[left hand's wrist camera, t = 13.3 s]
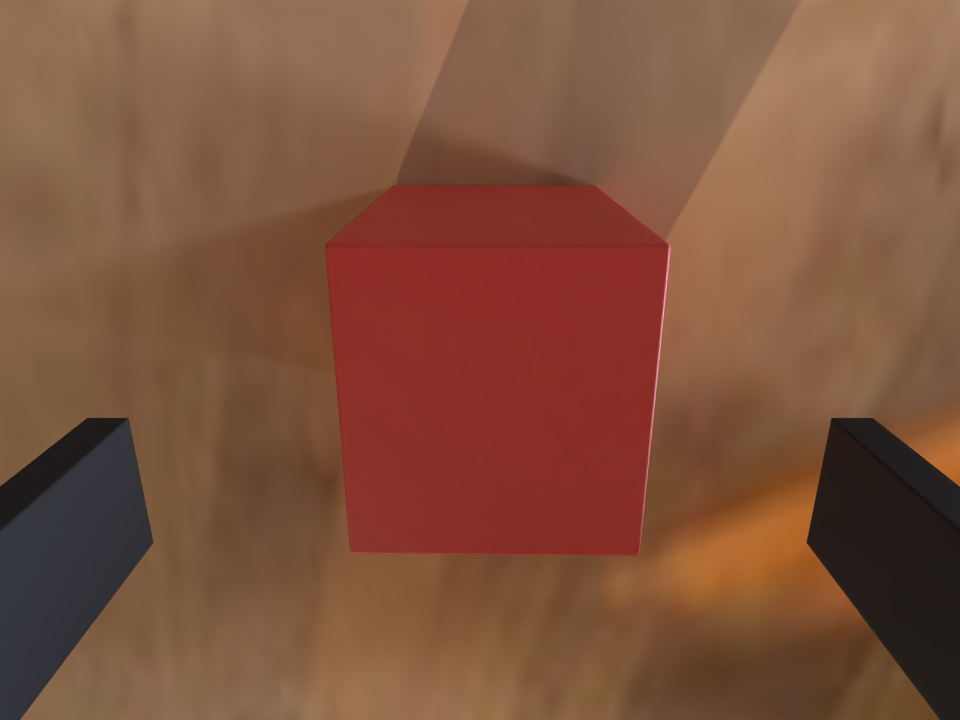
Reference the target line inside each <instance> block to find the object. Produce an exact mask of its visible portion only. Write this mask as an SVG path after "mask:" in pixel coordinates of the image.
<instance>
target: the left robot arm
mask: <svg viewBox="0 0 960 720" xmlns="http://www.w3.org/2000/svg"><path fill="white" fill-rule="evenodd" d="M152 544H153V539H152V534H151V529H150V524H149V519H148V514H147V509H146V504H145V499H144V494H143V489H142V484H141V479H140V474H139V469H138V464H137V459H136V454H135V449H134V444H133V439H132V434H131V429H130V424H129V419H128V418H87V419H86V420H84V421H83V422H82V423H80V424H79V425H78V426H77V427H75V428H74V429H73V430H72V431H70V432H69V433H68V434H67V435H65V436H64V437H63V438H61V439H60V440H59V441H58V442H56V443H55V444H54V445H53V446H51V447H50V448H49V449H47V450H46V451H45V452H44V453H42V454H41V455H40V456H39V457H37V458H36V459H35V460H34V461H32V462H31V463H30V464H28V465H27V466H26V467H25V468H23V469H22V470H21V471H20V472H18V473H17V474H16V475H15V476H13V477H12V478H11V479H9V480H8V481H7V482H6V483H4V484H3V485H2V486H1V487H0V720H20V719H21V718H22V716H23V715H24V714H25V712H26V711H27V710H28V708H29V707H30V706H31V704H32V703H33V702H34V700H35V699H36V698H37V696H38V695H39V694H40V692H41V691H42V690H43V688H44V687H45V686H46V684H47V683H48V682H49V680H50V679H51V678H52V677H53V675H54V674H55V673H56V671H57V670H58V669H59V667H60V666H61V665H62V663H63V662H64V661H65V659H66V658H67V657H68V655H69V654H70V653H71V651H72V650H73V649H74V647H75V646H76V645H77V643H78V642H79V641H80V639H81V638H82V637H83V635H84V634H85V633H86V631H87V630H88V629H89V627H90V626H91V625H92V623H93V622H94V621H95V619H96V618H97V617H98V615H99V614H100V613H101V611H102V610H103V609H104V607H105V606H106V605H107V603H108V602H109V601H110V599H111V598H112V597H113V595H114V594H115V593H116V592H117V590H118V589H119V588H120V586H121V585H122V584H123V582H124V581H125V580H126V578H127V577H128V576H129V574H130V573H131V572H132V570H133V569H134V568H135V566H136V565H137V564H138V562H139V561H140V560H141V558H142V557H143V556H144V554H145V553H146V552H147V550H148V549H149V548H150V546H151V545H152ZM807 544H808V545H809V546H810V548H811V549H812V550H813V552H814V553H815V554H816V556H817V557H818V558H819V560H820V561H821V562H822V564H823V565H824V566H825V568H826V569H827V570H828V572H829V573H830V574H831V576H832V577H833V578H834V580H835V581H836V582H837V584H838V585H839V586H840V588H841V589H842V590H843V592H844V593H845V594H846V595H847V597H848V598H849V599H850V601H851V602H852V603H853V605H854V606H855V607H856V609H857V610H858V611H859V613H860V614H861V615H862V617H863V618H864V619H865V621H866V622H867V623H868V625H869V626H870V627H871V629H872V630H873V631H874V633H875V634H876V635H877V637H878V638H879V639H880V641H881V642H882V643H883V645H884V646H885V647H886V649H887V650H888V651H889V653H890V654H891V655H892V657H893V658H894V659H895V661H896V662H897V663H898V665H899V666H900V667H901V669H902V670H903V671H904V673H905V674H906V675H907V677H908V678H909V679H910V680H911V682H912V683H913V684H914V686H915V687H916V688H917V690H918V691H919V692H920V694H921V695H922V696H923V698H924V699H925V700H926V702H927V703H928V704H929V706H930V707H931V708H932V710H933V711H934V712H935V714H936V715H937V716H938V718H939V719H940V720H960V487H959V486H958V485H957V484H956V483H954V482H953V481H952V480H951V479H949V478H948V477H947V476H945V475H944V474H943V473H942V472H940V471H939V470H938V469H937V468H935V467H934V466H933V465H932V464H930V463H929V462H928V461H926V460H925V459H924V458H923V457H921V456H920V455H919V454H918V453H916V452H915V451H914V450H912V449H911V448H910V447H909V446H907V445H906V444H905V443H904V442H902V441H901V440H900V439H899V438H897V437H896V436H895V435H893V434H892V433H891V432H890V431H888V430H887V429H886V428H885V427H883V426H882V425H881V424H880V423H878V422H877V421H876V420H874V419H873V418H832V419H831V424H830V429H829V434H828V439H827V444H826V449H825V454H824V459H823V464H822V469H821V474H820V479H819V484H818V489H817V494H816V499H815V504H814V509H813V514H812V519H811V524H810V529H809V534H808V539H807Z"/></svg>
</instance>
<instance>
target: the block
mask: <svg viewBox="0 0 960 720" xmlns="http://www.w3.org/2000/svg"><path fill="white" fill-rule="evenodd" d="M325 251H326V264H327V276H328V288H329V300H330V312H331V324H332V336H333V348H334V360H335V373H336V385H337V397H338V409H339V421H340V433H341V445H342V457H343V469H344V482H345V494H346V506H347V518H348V530H349V542H350V551H351V553H364V554H498V555H631V556H637V555H639V553H640V546H641V536H642V526H643V517H644V507H645V497H646V487H647V477H648V467H649V458H650V448H651V438H652V428H653V418H654V408H655V399H656V389H657V379H658V369H659V359H660V349H661V340H662V330H663V320H664V310H665V300H666V290H667V281H668V271H669V261H670V251H671V247H670V245H669V244H668V243H667V242H665V241H664V240H663V239H662V238H660V237H659V236H658V235H657V234H655V233H654V232H653V231H652V230H650V229H649V228H648V227H646V226H645V225H644V224H643V223H641V222H640V221H639V220H638V219H636V218H635V217H634V216H633V215H631V214H630V213H629V212H628V211H626V210H625V209H624V208H623V207H621V206H620V205H619V204H617V203H616V202H615V201H614V200H612V199H611V198H610V197H609V196H607V195H606V194H605V193H604V192H602V191H601V190H600V189H599V188H597V187H596V186H594V185H393V186H392V187H391V188H390V189H388V190H387V191H386V192H385V193H384V194H383V195H382V196H380V197H379V198H378V199H377V200H376V201H375V202H374V203H372V204H371V205H370V206H369V207H368V208H367V209H366V210H365V211H363V212H362V213H361V214H360V215H359V216H358V217H357V218H355V219H354V220H353V221H352V222H351V223H350V224H349V225H347V226H346V227H345V228H344V229H343V230H342V231H341V232H339V233H338V234H337V235H336V236H335V237H334V238H333V239H332V240H330V241H329V242H328V243H327V244H326V246H325Z"/></svg>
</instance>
